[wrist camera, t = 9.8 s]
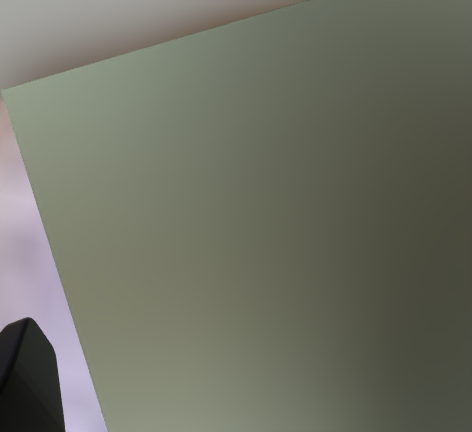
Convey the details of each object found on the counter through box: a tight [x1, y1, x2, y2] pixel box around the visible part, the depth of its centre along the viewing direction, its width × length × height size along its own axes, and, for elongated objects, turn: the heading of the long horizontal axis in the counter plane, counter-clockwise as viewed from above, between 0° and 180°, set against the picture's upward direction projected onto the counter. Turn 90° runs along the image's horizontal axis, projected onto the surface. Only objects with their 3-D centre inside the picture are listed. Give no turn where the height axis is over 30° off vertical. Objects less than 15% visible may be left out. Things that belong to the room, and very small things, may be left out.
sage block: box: [1, 0, 472, 432], centre depth 10 cm, size 5×5×13 cm
